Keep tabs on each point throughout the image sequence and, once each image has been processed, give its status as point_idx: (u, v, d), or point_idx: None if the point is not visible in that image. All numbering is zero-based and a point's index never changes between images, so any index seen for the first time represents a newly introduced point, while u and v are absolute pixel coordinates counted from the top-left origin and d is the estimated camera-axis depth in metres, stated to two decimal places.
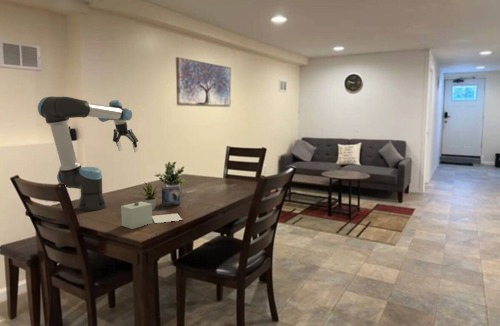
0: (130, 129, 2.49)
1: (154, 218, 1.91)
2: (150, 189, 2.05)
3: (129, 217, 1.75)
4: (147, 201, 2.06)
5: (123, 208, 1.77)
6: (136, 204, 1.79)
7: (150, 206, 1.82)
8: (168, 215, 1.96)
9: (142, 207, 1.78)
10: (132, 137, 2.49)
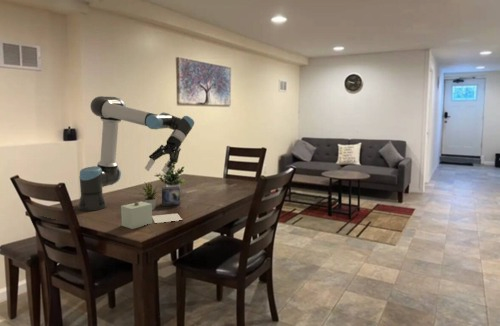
0: None
1: (154, 218, 1.91)
2: (150, 189, 2.05)
3: (129, 217, 1.75)
4: (147, 201, 2.06)
5: (123, 208, 1.77)
6: (136, 204, 1.79)
7: (150, 206, 1.82)
8: (168, 215, 1.96)
9: (142, 207, 1.78)
10: (175, 153, 1.87)
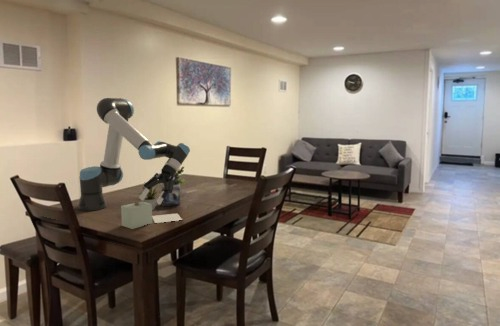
0: (174, 177, 1.89)
1: (154, 218, 1.91)
2: (150, 189, 2.05)
3: (129, 217, 1.75)
4: (147, 201, 2.06)
5: (123, 208, 1.77)
6: (136, 204, 1.79)
7: (150, 206, 1.82)
8: (168, 215, 1.96)
9: (142, 207, 1.78)
10: (169, 184, 1.84)
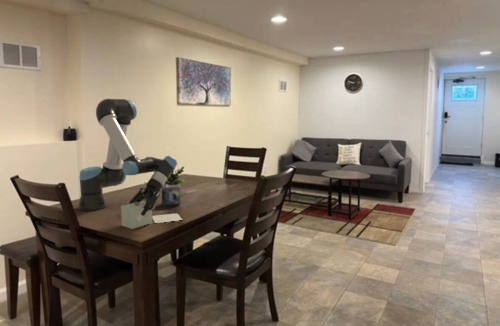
0: None
1: (154, 218, 1.91)
2: None
3: (129, 217, 1.75)
4: None
5: (123, 208, 1.77)
6: (136, 204, 1.79)
7: (150, 206, 1.82)
8: (168, 215, 1.96)
9: (142, 207, 1.78)
10: (151, 200, 1.79)
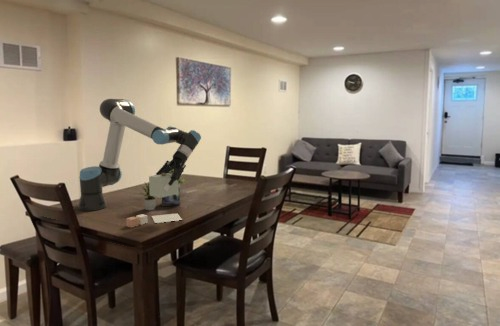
0: (185, 165, 1.90)
1: (154, 218, 1.91)
2: None
3: (157, 186, 1.82)
4: (147, 201, 2.06)
5: (151, 178, 1.84)
6: (163, 175, 1.87)
7: None
8: (168, 215, 1.96)
9: (169, 177, 1.85)
10: (178, 171, 1.86)
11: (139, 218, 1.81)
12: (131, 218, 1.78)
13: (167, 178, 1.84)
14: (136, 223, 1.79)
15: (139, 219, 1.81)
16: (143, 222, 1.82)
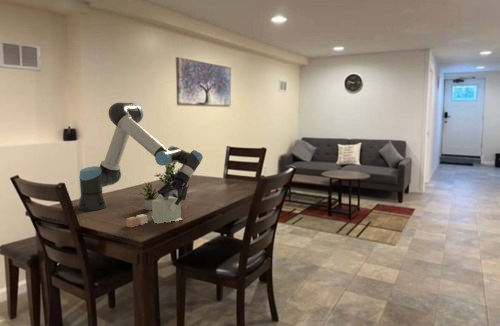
0: None
1: None
2: (150, 189, 2.05)
3: (160, 210, 1.85)
4: (147, 201, 2.06)
5: (154, 202, 1.87)
6: (166, 198, 1.89)
7: None
8: None
9: (172, 201, 1.88)
10: (183, 191, 1.89)
11: (139, 218, 1.81)
12: (131, 218, 1.78)
13: (170, 202, 1.87)
14: (136, 223, 1.79)
15: (139, 219, 1.81)
16: (143, 222, 1.82)
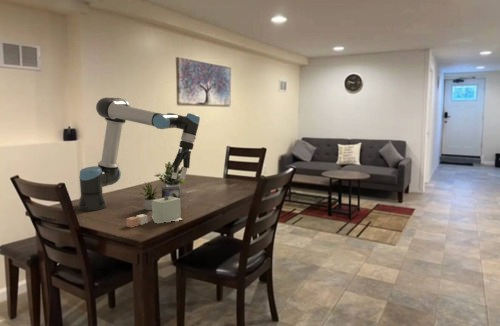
0: (182, 149, 1.95)
1: None
2: (150, 189, 2.05)
3: (160, 210, 1.85)
4: (147, 201, 2.06)
5: (154, 202, 1.87)
6: (166, 198, 1.89)
7: (179, 200, 1.92)
8: None
9: (172, 201, 1.88)
10: (176, 158, 1.94)
11: (139, 218, 1.81)
12: (131, 218, 1.78)
13: (170, 202, 1.87)
14: (136, 223, 1.79)
15: (139, 219, 1.81)
16: (143, 222, 1.82)
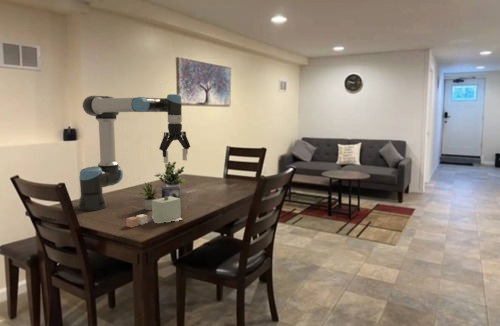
0: (166, 132, 1.93)
1: None
2: (150, 189, 2.05)
3: (160, 210, 1.85)
4: (147, 201, 2.06)
5: (154, 202, 1.87)
6: (166, 198, 1.89)
7: (179, 200, 1.92)
8: None
9: (172, 201, 1.88)
10: (162, 142, 1.94)
11: (139, 218, 1.81)
12: (131, 218, 1.78)
13: (170, 202, 1.87)
14: (136, 223, 1.79)
15: (139, 219, 1.81)
16: (143, 222, 1.82)
